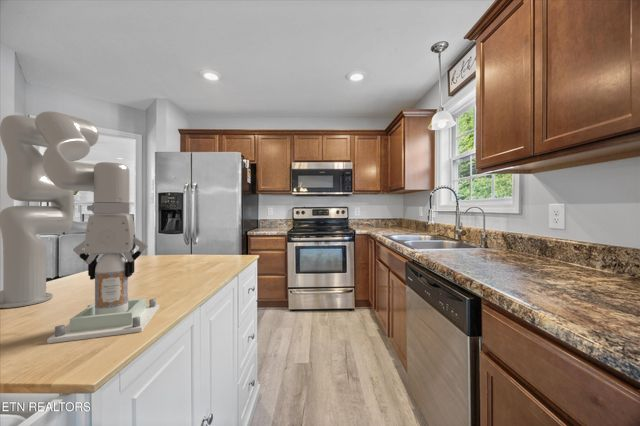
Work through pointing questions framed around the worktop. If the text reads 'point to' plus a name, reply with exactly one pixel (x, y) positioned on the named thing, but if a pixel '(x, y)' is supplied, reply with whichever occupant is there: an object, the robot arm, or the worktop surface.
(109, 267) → the bath foam
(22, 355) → the worktop surface
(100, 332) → the dock
